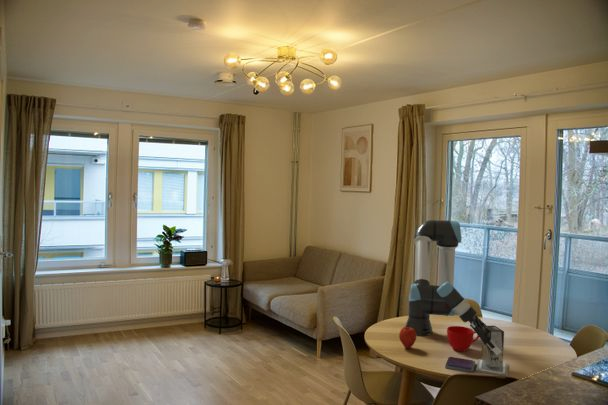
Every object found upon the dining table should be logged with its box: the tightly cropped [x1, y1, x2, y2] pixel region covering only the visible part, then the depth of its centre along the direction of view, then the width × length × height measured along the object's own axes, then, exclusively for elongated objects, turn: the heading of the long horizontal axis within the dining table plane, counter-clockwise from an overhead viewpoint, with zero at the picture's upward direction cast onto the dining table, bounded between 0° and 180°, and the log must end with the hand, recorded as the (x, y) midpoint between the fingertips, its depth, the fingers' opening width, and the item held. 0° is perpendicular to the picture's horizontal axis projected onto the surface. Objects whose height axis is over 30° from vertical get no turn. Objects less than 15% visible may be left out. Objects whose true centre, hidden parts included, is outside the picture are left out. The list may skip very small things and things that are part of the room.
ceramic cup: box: [446, 325, 480, 352], centre depth 242 cm, size 13×17×10 cm
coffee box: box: [481, 325, 505, 367], centre depth 217 cm, size 9×6×16 cm
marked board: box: [475, 358, 509, 377], centre depth 217 cm, size 13×15×1 cm
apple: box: [398, 326, 417, 349], centre depth 241 cm, size 9×8×11 cm
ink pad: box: [445, 356, 476, 373], centre depth 219 cm, size 12×12×2 cm
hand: (499, 349), depth 216 cm, fingers closed on coffee box, 11 cm apart
